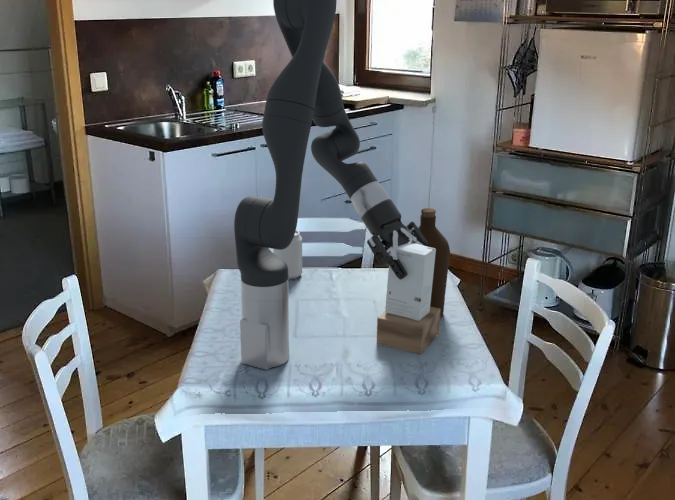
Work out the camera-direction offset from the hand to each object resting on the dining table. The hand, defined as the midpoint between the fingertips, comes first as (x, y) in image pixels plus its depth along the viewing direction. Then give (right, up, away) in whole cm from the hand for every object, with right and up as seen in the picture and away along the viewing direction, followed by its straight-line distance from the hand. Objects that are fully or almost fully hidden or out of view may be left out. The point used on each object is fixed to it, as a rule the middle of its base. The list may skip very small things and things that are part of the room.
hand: (416, 272), depth 152 cm
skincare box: (-1, -9, +4) cm, 10 cm away
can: (-29, -2, +41) cm, 50 cm away
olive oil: (+3, -10, +19) cm, 22 cm away
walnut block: (-1, -15, +6) cm, 16 cm away
